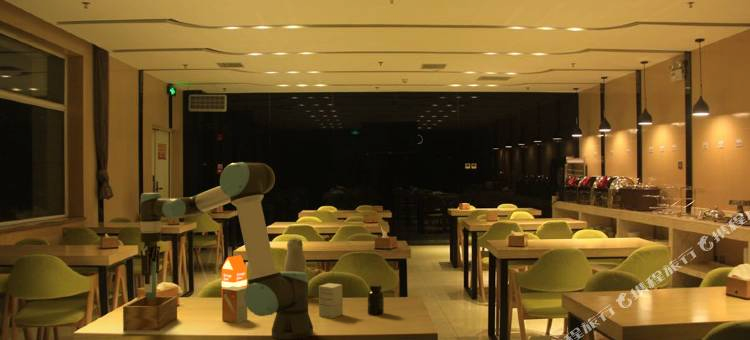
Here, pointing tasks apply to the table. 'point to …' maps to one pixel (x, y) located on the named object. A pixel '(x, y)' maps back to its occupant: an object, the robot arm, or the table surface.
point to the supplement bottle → (375, 300)
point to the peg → (153, 273)
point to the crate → (150, 313)
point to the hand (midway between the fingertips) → (150, 290)
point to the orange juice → (234, 272)
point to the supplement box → (330, 300)
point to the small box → (234, 304)
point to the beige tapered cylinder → (295, 256)
